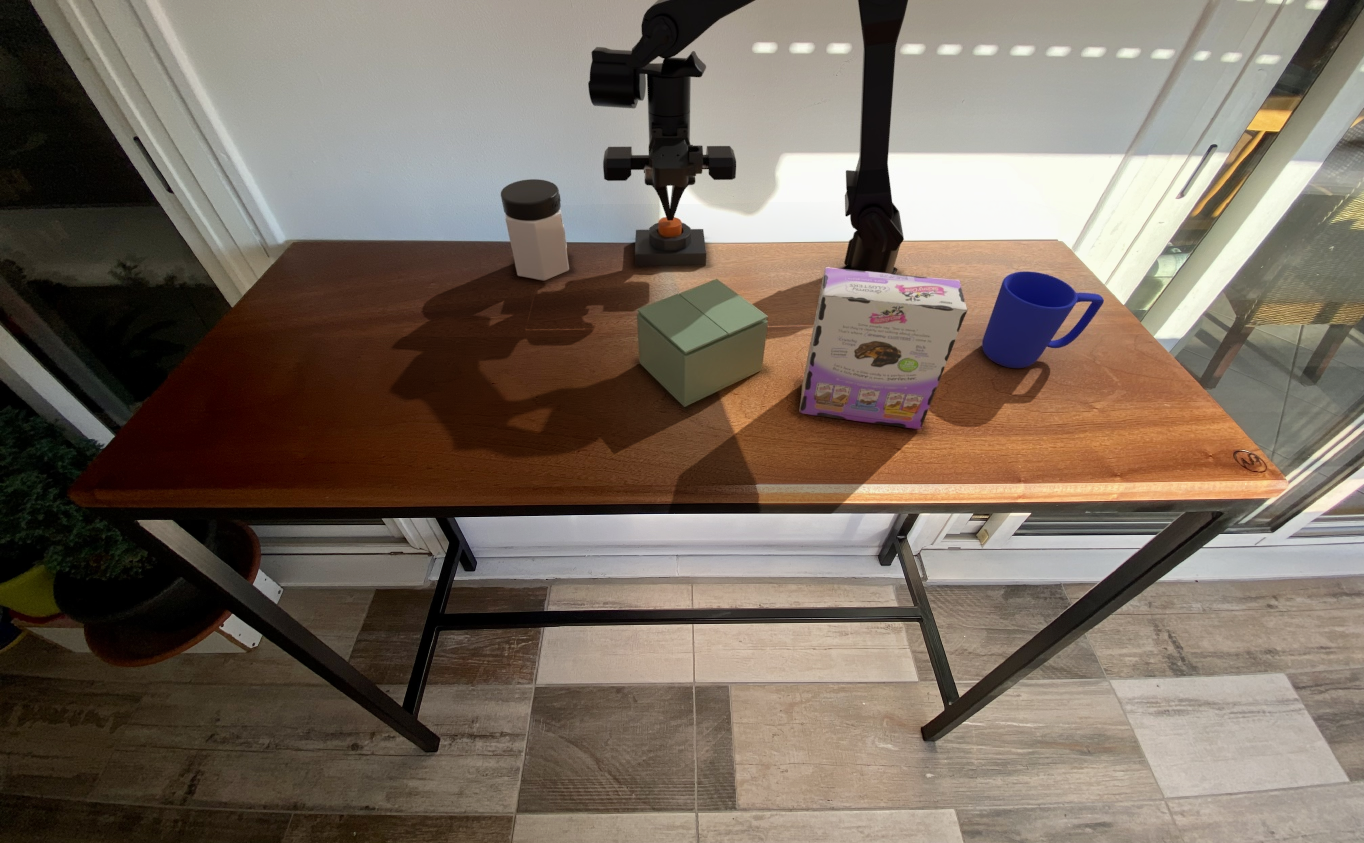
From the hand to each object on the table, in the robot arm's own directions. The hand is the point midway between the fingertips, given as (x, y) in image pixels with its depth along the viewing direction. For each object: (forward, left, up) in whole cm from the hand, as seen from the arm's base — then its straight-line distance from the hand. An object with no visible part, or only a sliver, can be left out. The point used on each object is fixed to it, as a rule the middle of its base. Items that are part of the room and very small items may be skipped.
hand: (670, 219), depth 92 cm
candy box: (-40, +12, -6) cm, 43 cm away
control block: (0, 0, -6) cm, 6 cm away
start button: (0, 0, -2) cm, 2 cm away
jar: (+12, +16, -6) cm, 21 cm away
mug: (-52, -11, -6) cm, 53 cm away
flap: (-23, +16, +2) cm, 27 cm away
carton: (-22, +19, -6) cm, 29 cm away
